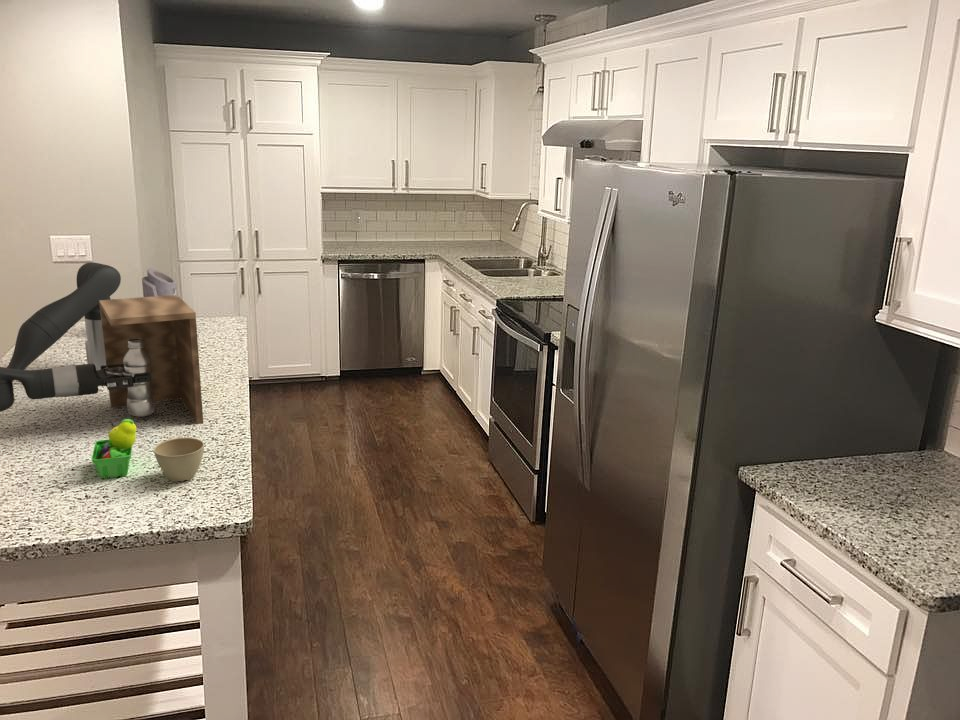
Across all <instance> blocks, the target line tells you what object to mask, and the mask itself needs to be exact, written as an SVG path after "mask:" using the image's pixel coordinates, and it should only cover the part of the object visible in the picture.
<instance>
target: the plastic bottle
mask: <svg viewBox="0 0 960 720" xmlns="http://www.w3.org/2000/svg"><path fill="white" fill-rule="evenodd" d="M144 347H145V345H144V339H141V338H133V339H129V340H128V348H129V350H128V352H127V353H126V354H125V356H124V359H123V364H124V368H125V372H126V374H137V373H147V372H149V373H150V370H151V358H150V356H149V354H148V353H147V352H146V351H145V350H144ZM127 381H128V380H127ZM155 408H156V402H154V399H153V396H152V390H151V385H150V381H149V382H140V383H135V384H134V386H133V387H128V399H127V406H126V409H127V412H128V414H129V415H131V416H132V417H146V416H147V417H148V416H150V415H152V414H153V413H154V411H155Z"/></svg>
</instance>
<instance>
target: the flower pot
mask: <svg viewBox="0 0 960 720" xmlns="http://www.w3.org/2000/svg"><path fill="white" fill-rule="evenodd" d="M204 449H205V443H204V442H203V440H201V439H198V438H195V437H177V438H170V439H167V440H165V441H162V442H160V443H158V444H157V445H155V446H154V448H153V454H154V456H155V459H156V461H157V464H158V466H159V469H161V471H162V473H164V475H165V476H166V477H167V478H168V479H169V481H171V480H173V481H172V482H175V481H182V482H185V481H184V480H187V481H189V480H188V479H190V478H192V477H193V478H194V477H195V476H196V474H197V472H198V470H199V468H200V465H201V463H202V460H203V456H204V452H205V451H204ZM193 478H192V479H193ZM190 480H191V479H190Z"/></svg>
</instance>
